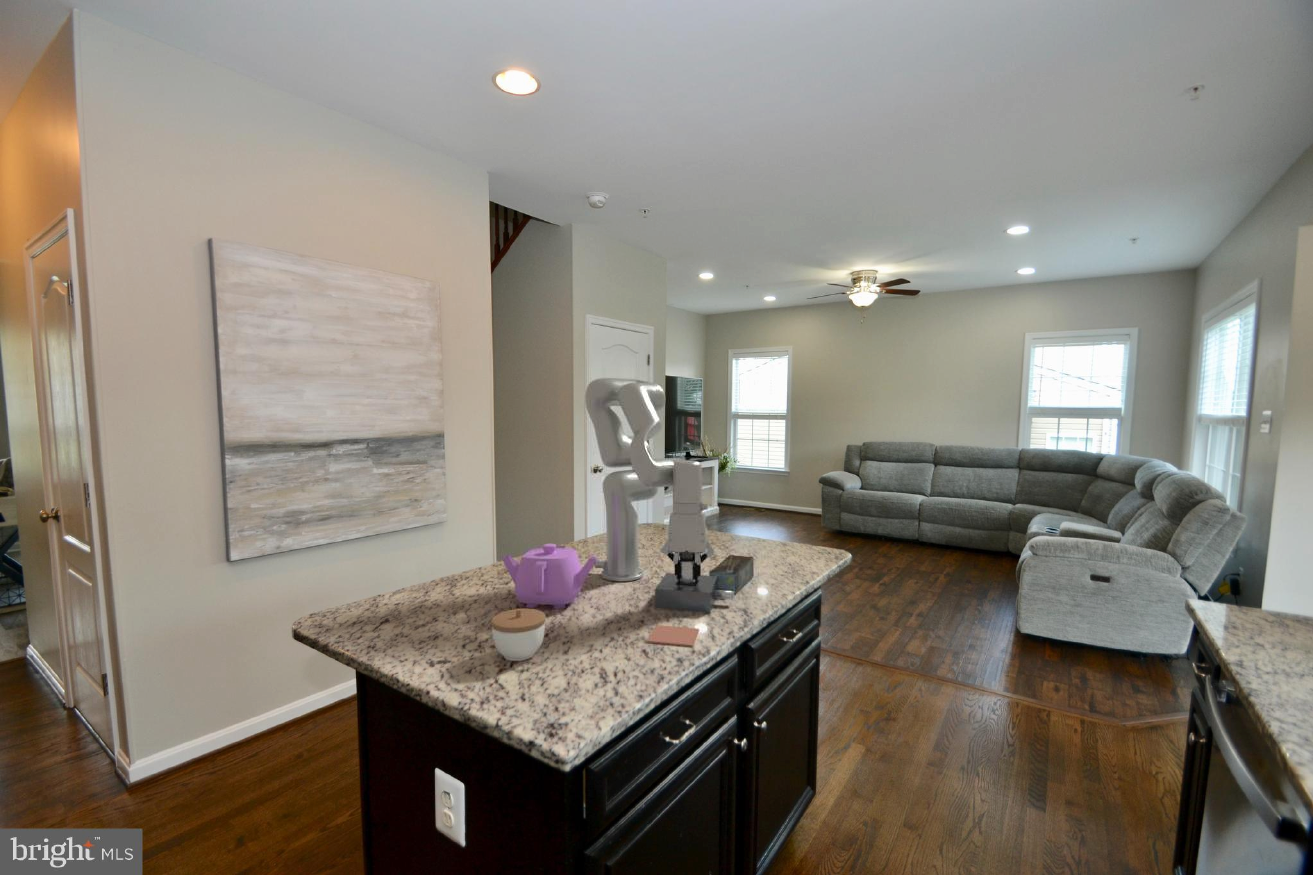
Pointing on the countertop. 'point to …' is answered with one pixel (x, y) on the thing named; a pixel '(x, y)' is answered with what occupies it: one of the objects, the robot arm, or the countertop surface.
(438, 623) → the countertop surface
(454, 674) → the countertop surface
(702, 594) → the grey slotted box
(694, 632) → the mat
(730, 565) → the beverage carton
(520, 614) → the lidded jar
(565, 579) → the teapot
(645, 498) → the robot arm
